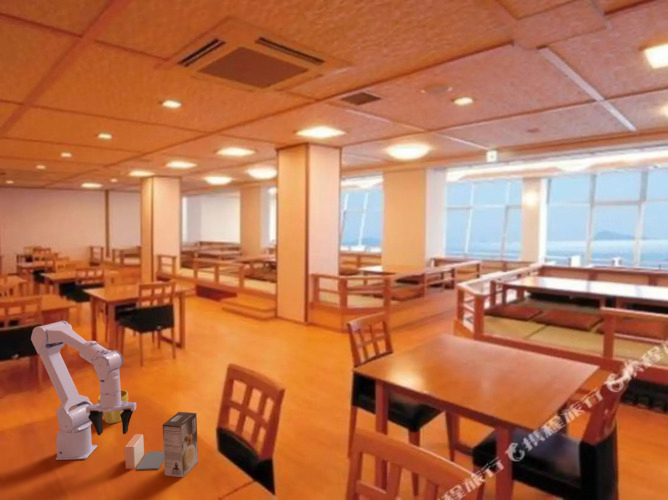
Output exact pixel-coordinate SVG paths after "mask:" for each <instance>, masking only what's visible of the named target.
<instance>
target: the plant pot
mask: <svg viewBox="0 0 668 500" xmlns="http://www.w3.org/2000/svg"><path fill="white" fill-rule="evenodd" d="M121 401H123V402H129V392H128V391H127V390H124V389H121ZM98 403H101V398H100V395H99V396H98V397H97V404H98ZM122 412H123V410H122V411H110V412H103V419H104V422H105V423H106V424H116V423H119V422H122V420H121V416H120V414H121V413H122Z"/></svg>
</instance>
